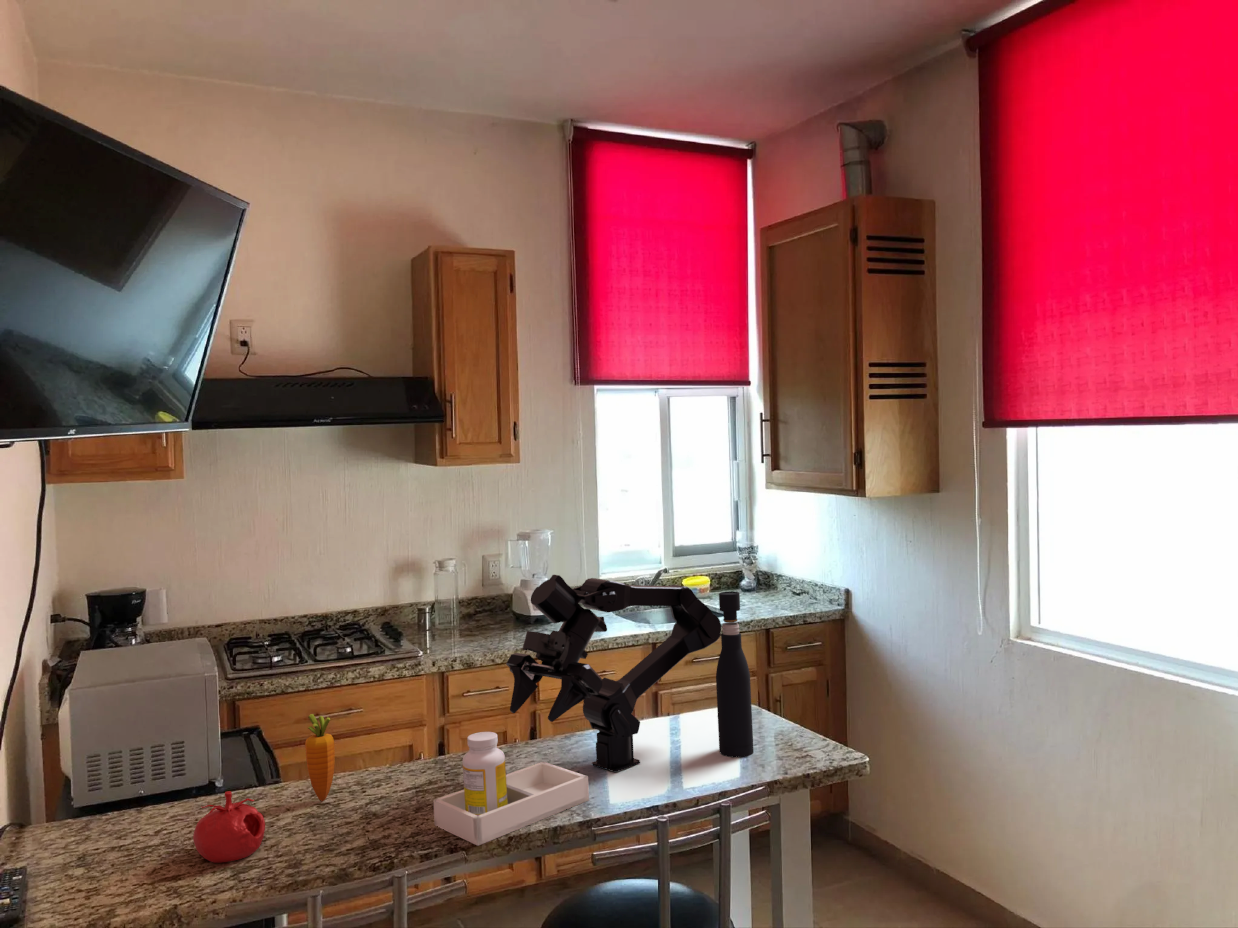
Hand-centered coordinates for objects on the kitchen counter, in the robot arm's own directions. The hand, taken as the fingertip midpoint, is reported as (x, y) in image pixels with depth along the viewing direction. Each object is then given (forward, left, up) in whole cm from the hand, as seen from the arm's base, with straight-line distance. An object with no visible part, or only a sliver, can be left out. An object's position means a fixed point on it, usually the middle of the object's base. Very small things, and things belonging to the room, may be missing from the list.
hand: (530, 716), depth 153 cm
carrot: (+25, -27, -14) cm, 39 cm away
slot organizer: (+7, +3, -14) cm, 15 cm away
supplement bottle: (+12, +3, -13) cm, 18 cm away
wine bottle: (-38, +13, -14) cm, 43 cm away
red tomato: (+44, -18, -14) cm, 49 cm away
